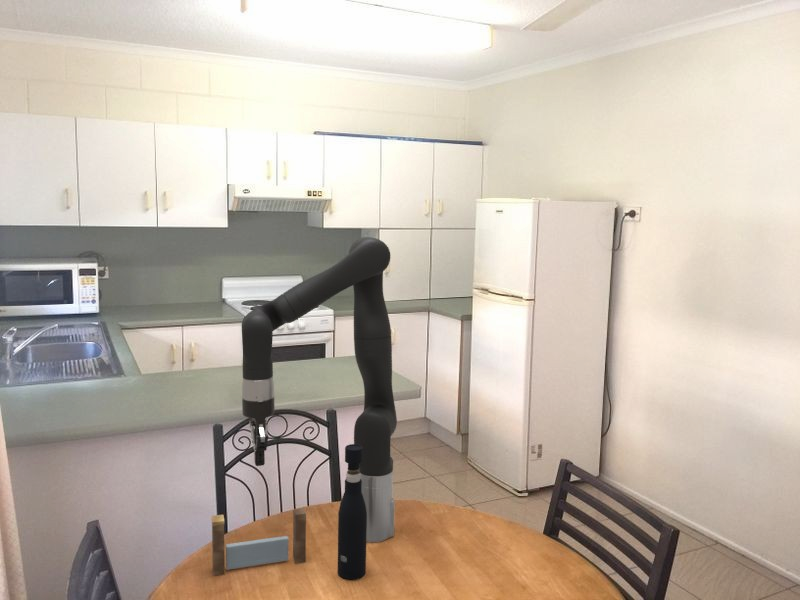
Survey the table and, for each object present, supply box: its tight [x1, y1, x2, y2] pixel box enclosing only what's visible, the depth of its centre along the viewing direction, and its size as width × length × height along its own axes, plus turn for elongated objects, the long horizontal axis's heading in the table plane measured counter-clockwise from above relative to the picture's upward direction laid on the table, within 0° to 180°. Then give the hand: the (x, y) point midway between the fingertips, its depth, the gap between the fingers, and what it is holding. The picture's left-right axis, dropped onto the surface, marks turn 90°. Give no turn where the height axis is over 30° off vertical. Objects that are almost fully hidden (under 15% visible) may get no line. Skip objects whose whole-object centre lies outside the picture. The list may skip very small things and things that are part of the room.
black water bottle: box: [337, 443, 367, 581], centre depth 152 cm, size 6×6×30 cm
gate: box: [225, 535, 289, 570], centre depth 155 cm, size 14×1×6 cm, turn 109°
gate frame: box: [210, 507, 307, 577], centre depth 155 cm, size 21×3×13 cm, turn 109°
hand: (259, 464), depth 163 cm, fingers closed
